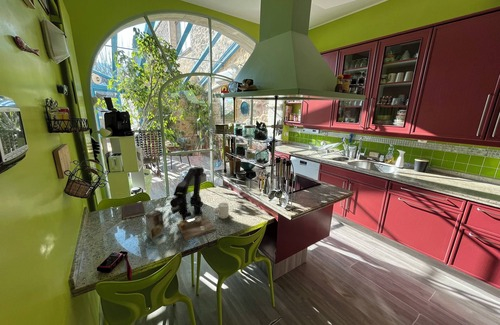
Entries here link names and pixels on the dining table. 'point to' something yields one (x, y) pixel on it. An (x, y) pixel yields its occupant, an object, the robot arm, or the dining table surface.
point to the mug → (222, 210)
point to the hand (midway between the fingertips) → (183, 220)
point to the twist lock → (191, 221)
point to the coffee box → (154, 224)
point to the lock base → (196, 228)
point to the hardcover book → (133, 210)
